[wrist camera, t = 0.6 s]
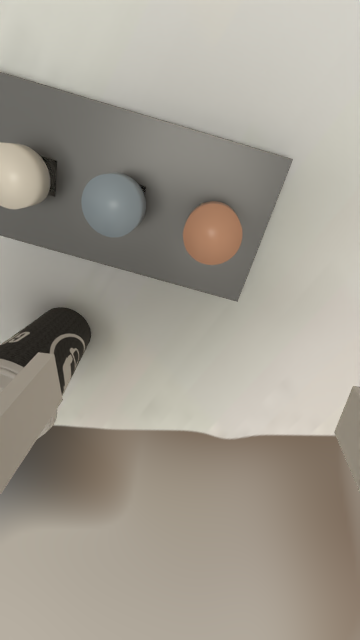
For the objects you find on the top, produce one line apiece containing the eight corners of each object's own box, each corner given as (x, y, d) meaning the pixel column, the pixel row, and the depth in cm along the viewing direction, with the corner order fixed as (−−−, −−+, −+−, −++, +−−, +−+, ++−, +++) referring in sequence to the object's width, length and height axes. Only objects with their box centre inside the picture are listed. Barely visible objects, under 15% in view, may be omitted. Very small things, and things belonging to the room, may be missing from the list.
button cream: (9, 194, 29) (-22, 200, 25) (8, 137, 26) (-27, 134, 23) (58, 208, 29) (35, 216, 25) (61, 153, 27) (36, 152, 23)
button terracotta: (181, 243, 29) (176, 256, 26) (194, 192, 27) (191, 197, 23) (228, 257, 29) (230, 271, 26) (246, 207, 27) (251, 214, 23)
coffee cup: (72, 283, 36) (-10, 356, 22) (116, 345, 39) (68, 439, 26) (14, 314, 38) (-89, 395, 25) (60, 369, 42) (-9, 465, 29)
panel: (2, 228, 33) (-10, 232, 32) (-3, 72, 27) (-18, 66, 25) (236, 294, 34) (237, 301, 33) (287, 159, 28) (292, 159, 26)
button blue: (96, 219, 29) (78, 228, 25) (102, 165, 27) (84, 166, 23) (144, 233, 29) (134, 244, 25) (154, 180, 27) (145, 183, 23)
